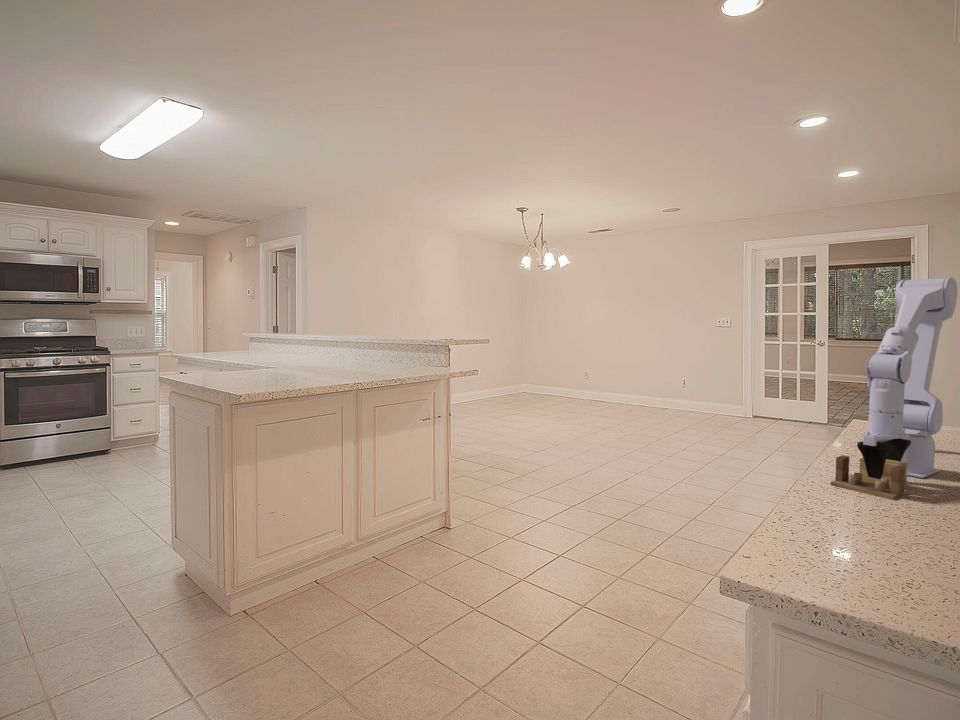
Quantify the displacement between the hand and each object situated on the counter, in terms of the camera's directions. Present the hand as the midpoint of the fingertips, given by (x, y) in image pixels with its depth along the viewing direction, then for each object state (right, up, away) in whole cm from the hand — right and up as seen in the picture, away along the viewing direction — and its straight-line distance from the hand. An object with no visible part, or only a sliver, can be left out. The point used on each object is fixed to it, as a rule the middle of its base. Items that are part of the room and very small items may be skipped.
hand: (882, 474), depth 111 cm
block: (0, -2, 0) cm, 2 cm away
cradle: (-5, -2, -3) cm, 7 cm away
